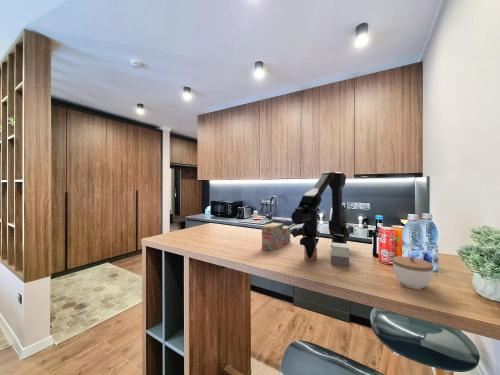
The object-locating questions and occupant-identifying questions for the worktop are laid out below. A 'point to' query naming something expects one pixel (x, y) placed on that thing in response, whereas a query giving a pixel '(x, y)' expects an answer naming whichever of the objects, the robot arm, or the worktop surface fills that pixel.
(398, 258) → the lidded jar
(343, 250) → the sage top block
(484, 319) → the worktop surface
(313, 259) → the wooden block
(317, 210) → the robot arm
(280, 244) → the stack of blocks
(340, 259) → the charcoal base block
